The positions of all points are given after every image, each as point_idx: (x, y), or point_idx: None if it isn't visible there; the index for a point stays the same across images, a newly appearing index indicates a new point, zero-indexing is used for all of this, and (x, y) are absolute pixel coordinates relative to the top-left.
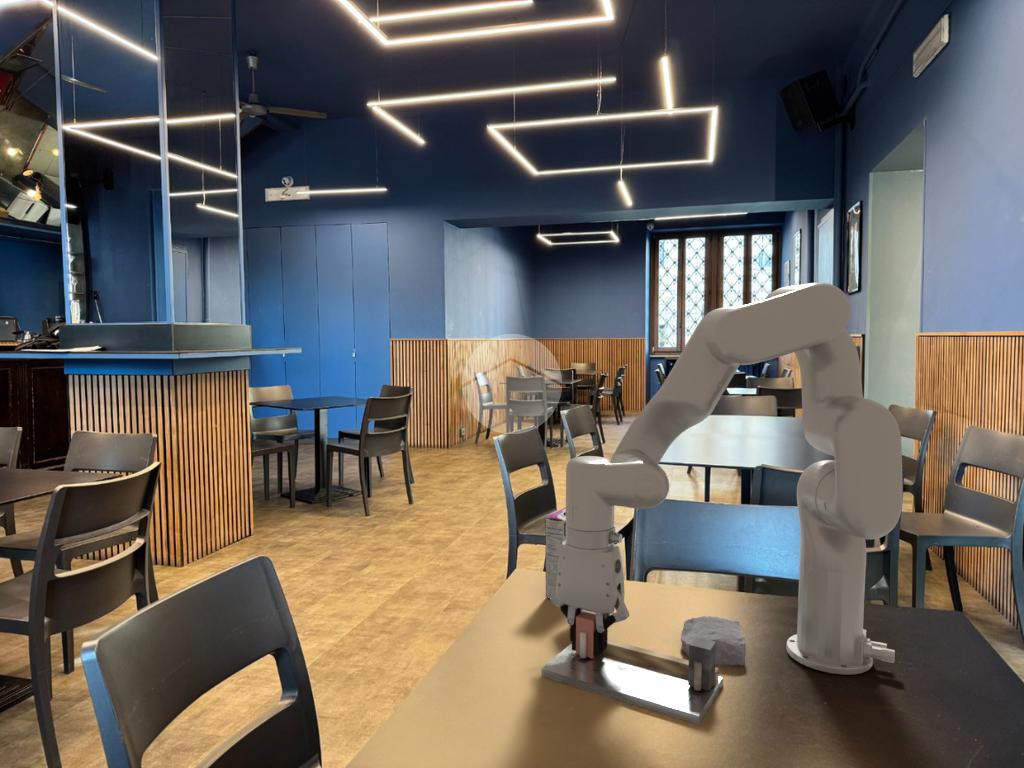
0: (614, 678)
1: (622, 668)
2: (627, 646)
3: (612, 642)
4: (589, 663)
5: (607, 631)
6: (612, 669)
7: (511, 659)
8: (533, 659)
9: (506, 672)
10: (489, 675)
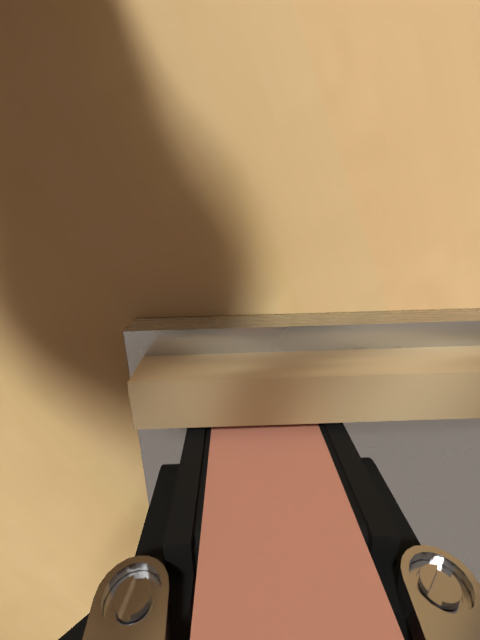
0: (432, 539)
1: (444, 470)
2: (475, 392)
3: (379, 397)
4: None
5: (415, 536)
6: (407, 495)
7: (6, 544)
8: (68, 508)
9: (62, 604)
10: (35, 635)
